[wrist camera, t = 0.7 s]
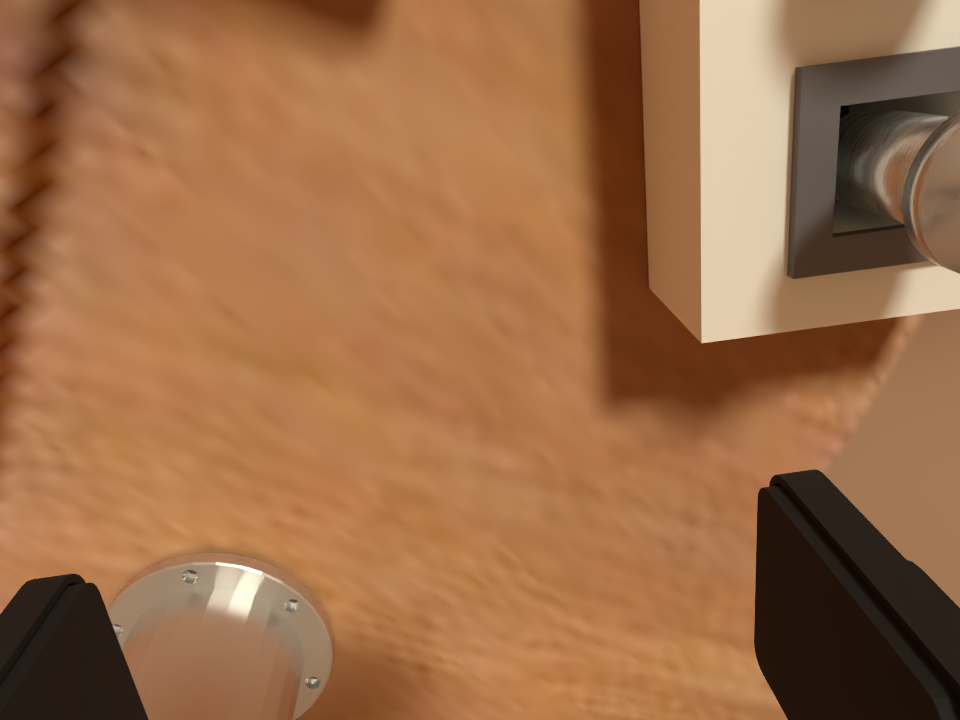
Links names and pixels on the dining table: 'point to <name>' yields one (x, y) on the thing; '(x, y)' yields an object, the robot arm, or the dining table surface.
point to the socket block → (783, 159)
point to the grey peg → (905, 175)
